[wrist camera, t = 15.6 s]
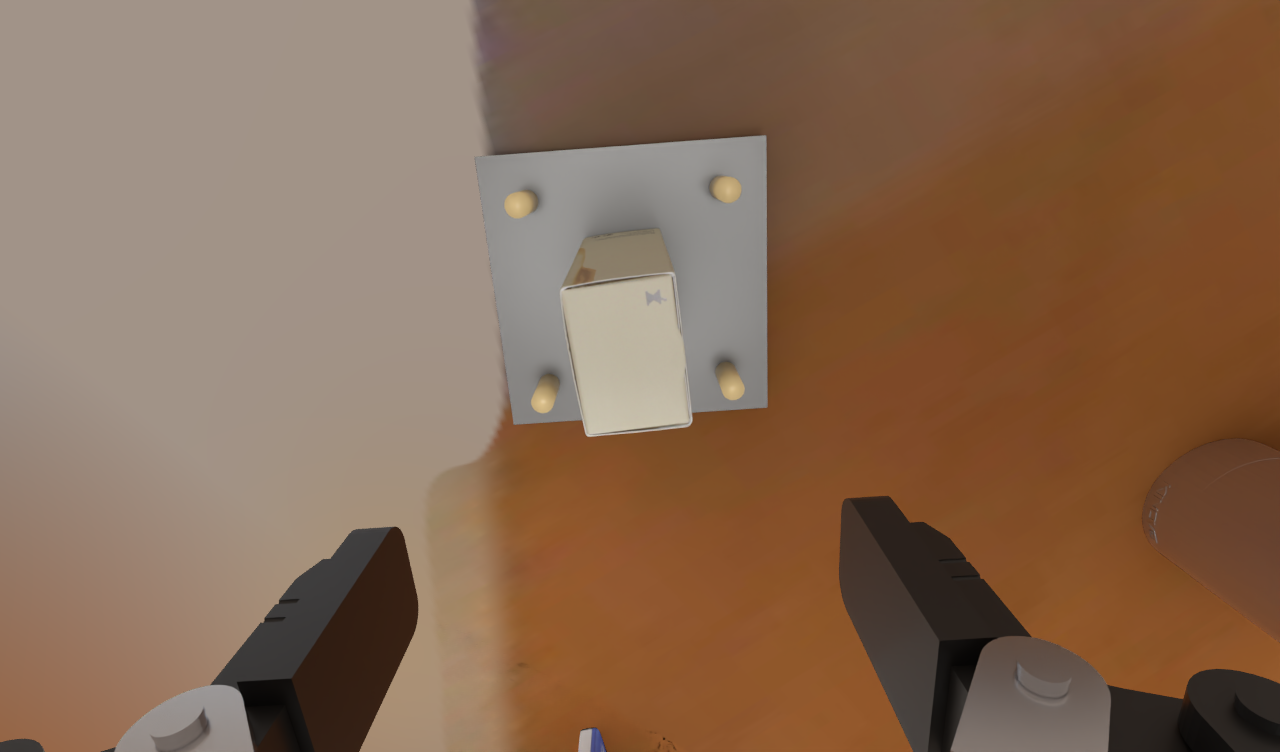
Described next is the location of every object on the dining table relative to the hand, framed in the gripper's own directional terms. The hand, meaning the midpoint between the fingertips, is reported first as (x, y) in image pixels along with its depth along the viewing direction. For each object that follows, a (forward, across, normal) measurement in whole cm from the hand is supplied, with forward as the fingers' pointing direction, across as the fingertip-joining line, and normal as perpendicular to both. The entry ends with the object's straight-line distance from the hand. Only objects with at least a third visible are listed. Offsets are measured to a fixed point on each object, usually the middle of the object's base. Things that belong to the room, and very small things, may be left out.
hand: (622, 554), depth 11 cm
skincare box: (+25, 0, 0) cm, 25 cm away
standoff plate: (+26, 0, 0) cm, 26 cm away
